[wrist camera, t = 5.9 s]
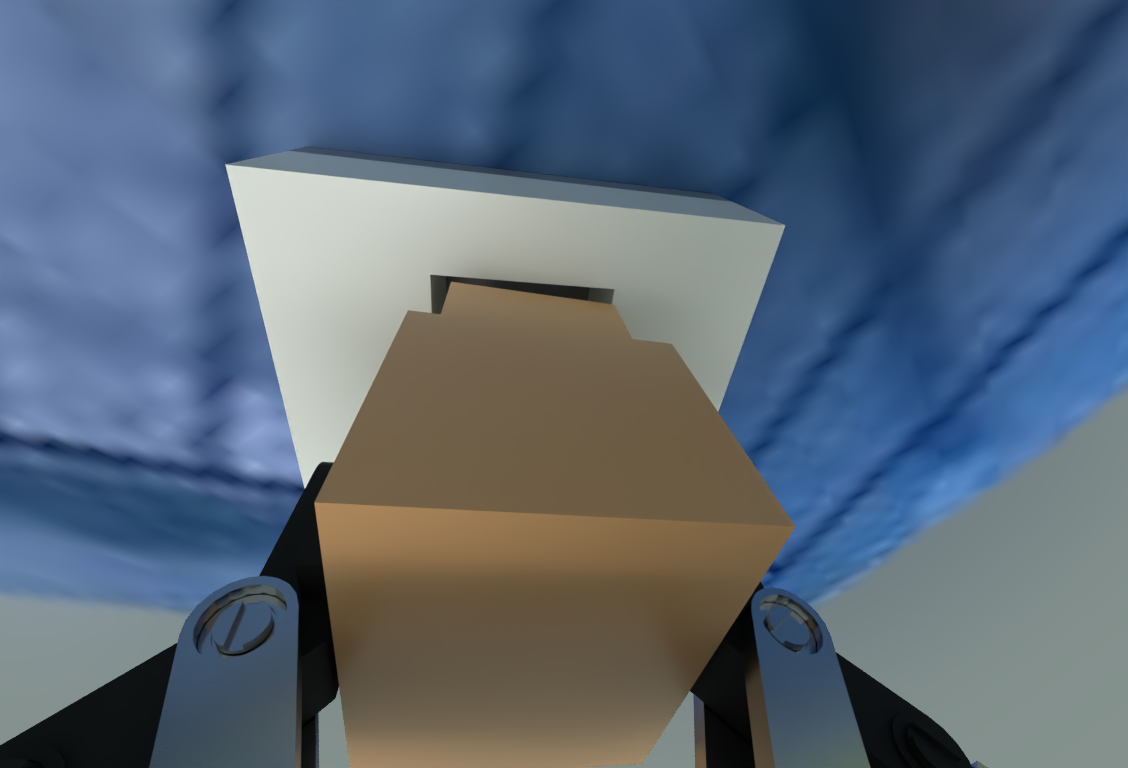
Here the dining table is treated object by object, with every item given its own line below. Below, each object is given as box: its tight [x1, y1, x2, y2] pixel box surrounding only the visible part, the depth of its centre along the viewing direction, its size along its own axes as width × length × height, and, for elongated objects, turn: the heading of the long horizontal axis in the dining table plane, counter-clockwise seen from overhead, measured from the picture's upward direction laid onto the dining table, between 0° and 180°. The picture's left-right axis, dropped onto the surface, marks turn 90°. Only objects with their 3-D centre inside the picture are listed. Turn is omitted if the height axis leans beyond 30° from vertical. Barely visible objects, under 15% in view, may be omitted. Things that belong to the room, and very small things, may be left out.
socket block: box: [226, 147, 786, 488], centre depth 16 cm, size 14×11×5 cm
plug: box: [314, 282, 796, 768], centre depth 10 cm, size 6×7×8 cm
